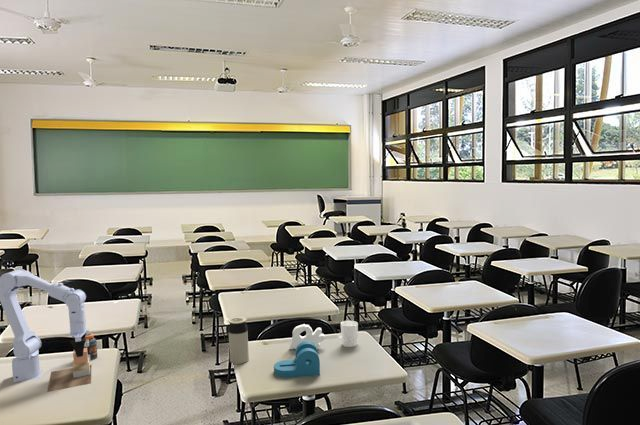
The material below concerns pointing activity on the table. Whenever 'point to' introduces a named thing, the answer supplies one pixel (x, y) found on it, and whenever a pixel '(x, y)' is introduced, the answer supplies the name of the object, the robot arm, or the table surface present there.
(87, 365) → the slab top
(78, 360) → the block
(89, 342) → the pill bottle
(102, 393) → the table surface
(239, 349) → the travel mug
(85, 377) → the board
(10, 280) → the robot arm
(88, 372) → the slab bottom
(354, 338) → the white cup
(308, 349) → the camera mount
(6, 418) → the table surface
